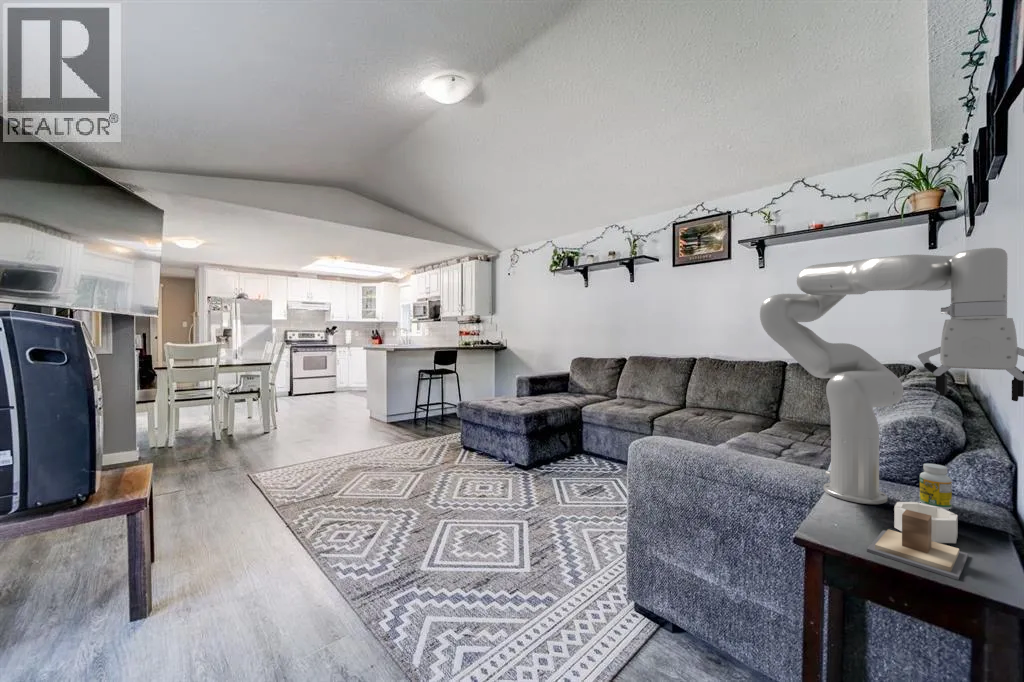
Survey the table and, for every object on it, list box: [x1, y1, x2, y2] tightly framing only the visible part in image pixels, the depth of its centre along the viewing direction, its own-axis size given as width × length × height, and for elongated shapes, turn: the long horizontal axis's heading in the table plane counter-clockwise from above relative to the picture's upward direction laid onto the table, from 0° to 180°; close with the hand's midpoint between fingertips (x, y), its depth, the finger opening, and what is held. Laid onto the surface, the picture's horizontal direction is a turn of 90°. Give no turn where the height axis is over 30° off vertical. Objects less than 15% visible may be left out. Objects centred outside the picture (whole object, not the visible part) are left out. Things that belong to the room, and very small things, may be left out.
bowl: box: [893, 501, 959, 544], centre depth 87 cm, size 9×9×4 cm
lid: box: [875, 510, 960, 572], centre depth 79 cm, size 10×10×7 cm
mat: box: [866, 529, 969, 581], centre depth 79 cm, size 12×12×1 cm
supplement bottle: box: [919, 462, 953, 511], centre depth 100 cm, size 5×5×10 cm
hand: (977, 397), depth 84 cm, fingers open, 9 cm apart
